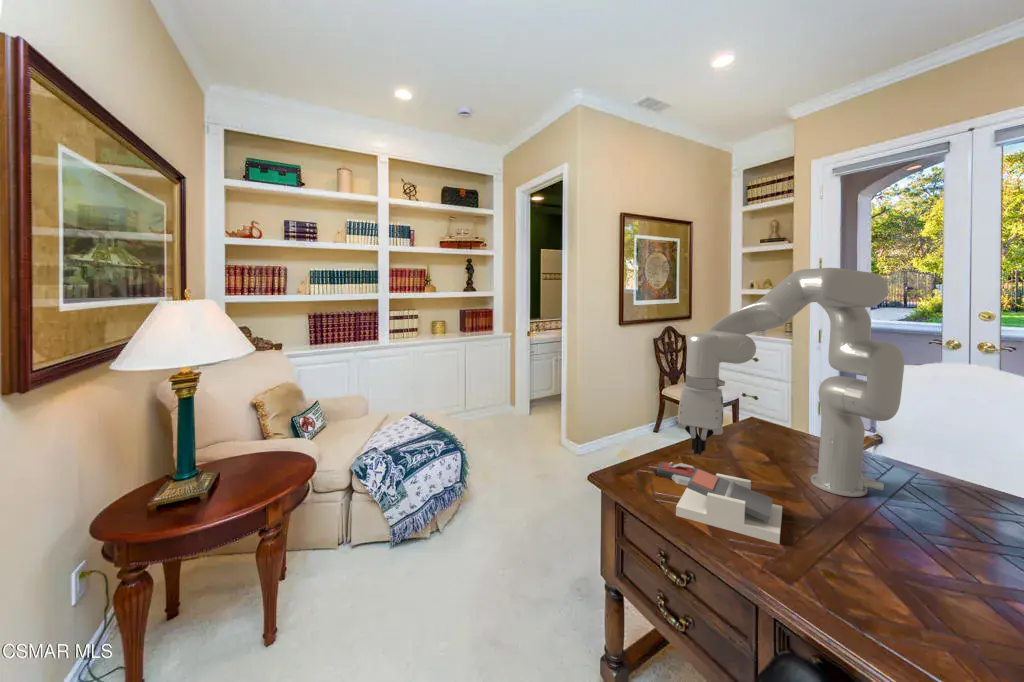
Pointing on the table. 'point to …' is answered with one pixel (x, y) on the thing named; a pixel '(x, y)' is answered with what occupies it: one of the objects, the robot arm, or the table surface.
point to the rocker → (732, 493)
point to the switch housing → (729, 513)
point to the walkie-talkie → (676, 472)
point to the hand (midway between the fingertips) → (698, 452)
